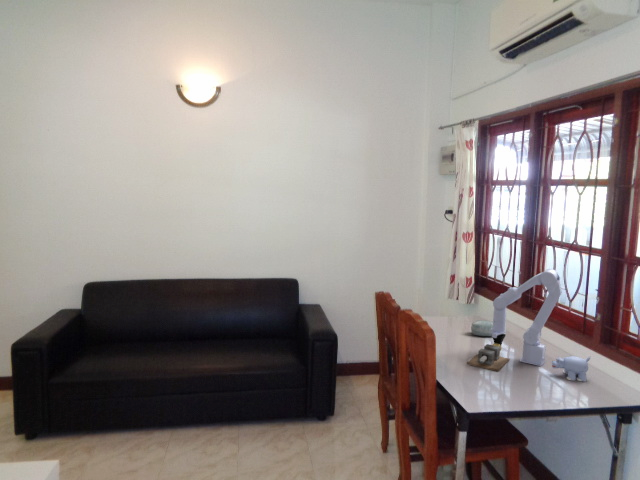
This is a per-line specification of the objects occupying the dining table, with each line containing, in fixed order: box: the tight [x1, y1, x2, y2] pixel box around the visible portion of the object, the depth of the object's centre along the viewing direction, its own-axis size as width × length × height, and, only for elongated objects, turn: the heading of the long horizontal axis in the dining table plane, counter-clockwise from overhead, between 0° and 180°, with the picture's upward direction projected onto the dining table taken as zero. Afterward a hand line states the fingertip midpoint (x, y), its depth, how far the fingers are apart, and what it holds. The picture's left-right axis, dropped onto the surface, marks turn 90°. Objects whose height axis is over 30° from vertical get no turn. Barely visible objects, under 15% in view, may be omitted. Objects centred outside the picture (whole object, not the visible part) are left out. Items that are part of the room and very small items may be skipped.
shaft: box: [479, 342, 503, 363], centre depth 229 cm, size 4×22×4 cm, turn 144°
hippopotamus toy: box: [551, 355, 591, 382], centre depth 214 cm, size 11×15×10 cm
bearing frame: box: [466, 343, 511, 373], centre depth 229 cm, size 14×17×6 cm
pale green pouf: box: [470, 319, 493, 337], centre depth 269 cm, size 14×10×10 cm
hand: (497, 348), depth 239 cm, fingers closed
